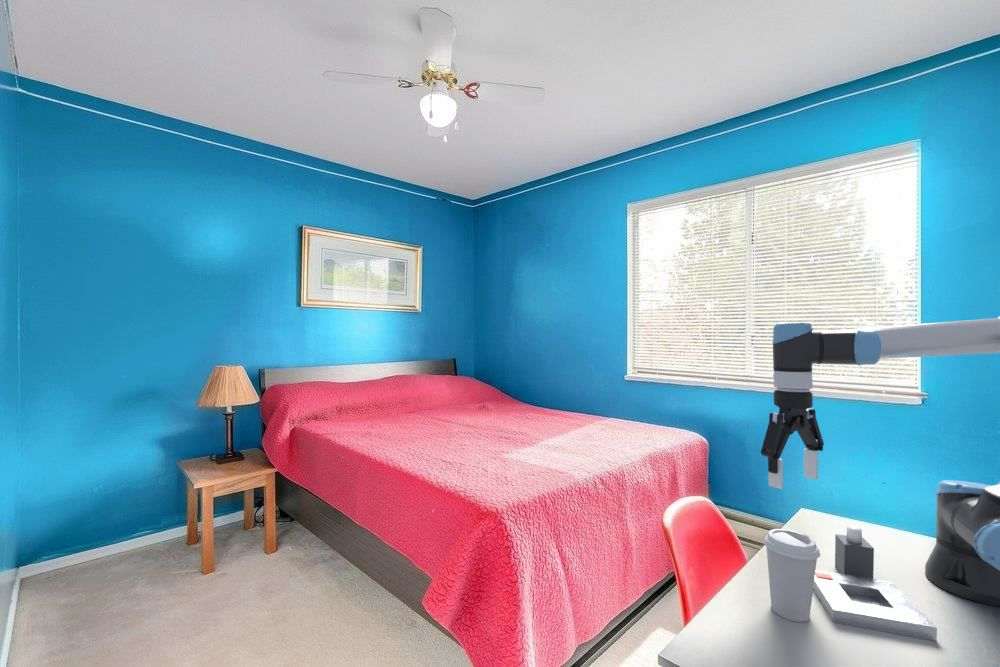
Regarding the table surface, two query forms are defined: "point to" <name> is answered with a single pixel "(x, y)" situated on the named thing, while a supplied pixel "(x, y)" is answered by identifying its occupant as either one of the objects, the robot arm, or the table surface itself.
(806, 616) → the coffee cup
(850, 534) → the plug
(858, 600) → the socket plate
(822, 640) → the table surface
